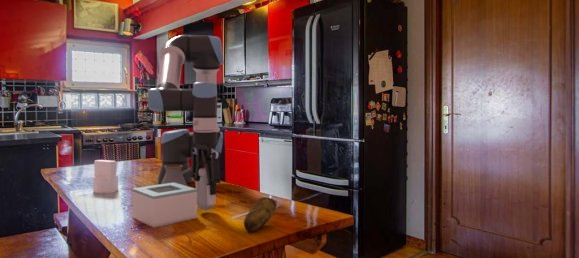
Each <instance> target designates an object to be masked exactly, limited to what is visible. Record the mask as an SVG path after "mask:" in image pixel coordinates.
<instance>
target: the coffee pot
mask: <svg viewBox="0 0 579 258" xmlns="http://www.w3.org/2000/svg"><path fill="white" fill-rule="evenodd" d="M182 167H183V166H182V165H166V166H164V168H165V169H166V174H165V176H164V179H163V181H162V183H161V184H167V183H173V182H174V183H178V184H181V185H185V186H188V183H187V184H186V182H185V179H184V177H183V174H184V173H186V172H188V171H190V170H191V167H190V168H189V169H187V170H185V171H183V172H181V168H182Z"/></svg>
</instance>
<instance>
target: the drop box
mask: <svg viewBox="0 0 579 258" xmlns="http://www.w3.org/2000/svg"><path fill="white" fill-rule="evenodd" d="M131 197H132V202H131V203H132V218H133V219H135V220H137V221H139V222H141V223H143V224H145V225H147V226H150V228H151V227H152V228H153V229H155V228H158V227H164V226H169V225H172V224H177V223H182V222H185V221H190V220H194V219H198V205H197V189H195V188H194V187H191V186H188V185H187V186H185V185H181V184H178V183H174V182H173V183H167V184H154V185H148V186H147V185H146V186H141V187H133V188H131Z"/></svg>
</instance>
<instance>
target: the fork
mask: <svg viewBox="0 0 579 258" xmlns="http://www.w3.org/2000/svg"><path fill="white" fill-rule="evenodd" d="M276 204H277V205H276V209H277V208H278V207H280V206H281V205H282V204H284V202H282V201H277V202H276ZM248 213H249V211H248V212H244V213H241V214H238V215H234V216H231V219H237V218H240V217H243V216H244V217H245V216H247V214H248Z"/></svg>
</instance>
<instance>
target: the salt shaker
mask: <svg viewBox="0 0 579 258" xmlns="http://www.w3.org/2000/svg"><path fill="white" fill-rule="evenodd" d="M199 176H200V182H199V188H198V194H197V208H198V209H199V210H200V211H201V210H203V211H207V210H212V208H213V205H214V204H213V205H209V206H208V205H207V184H208V178H207V172H206V167H204V168H201V169H199Z"/></svg>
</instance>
